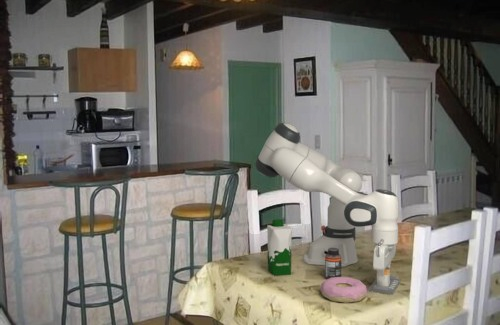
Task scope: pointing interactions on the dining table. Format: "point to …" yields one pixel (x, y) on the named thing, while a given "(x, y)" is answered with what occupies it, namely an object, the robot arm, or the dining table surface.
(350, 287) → the donut
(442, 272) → the dining table surface
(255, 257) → the dining table surface
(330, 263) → the supplement bottle
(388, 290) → the console
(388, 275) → the fader knob
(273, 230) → the milk carton
